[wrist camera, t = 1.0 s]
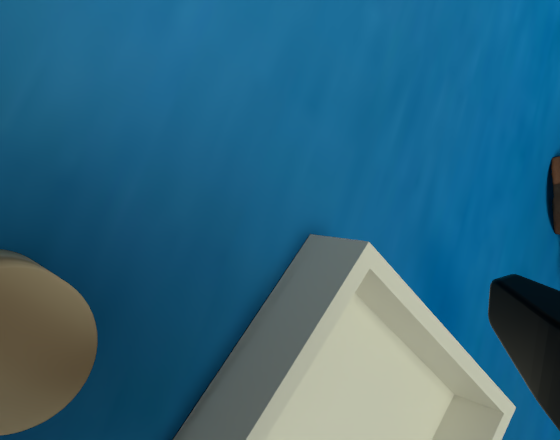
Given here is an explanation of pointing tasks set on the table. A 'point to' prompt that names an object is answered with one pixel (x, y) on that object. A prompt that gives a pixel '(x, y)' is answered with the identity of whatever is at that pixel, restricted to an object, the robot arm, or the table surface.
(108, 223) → the table surface
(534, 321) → the robot arm
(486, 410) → the gray and white box
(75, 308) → the wooden cylinder
